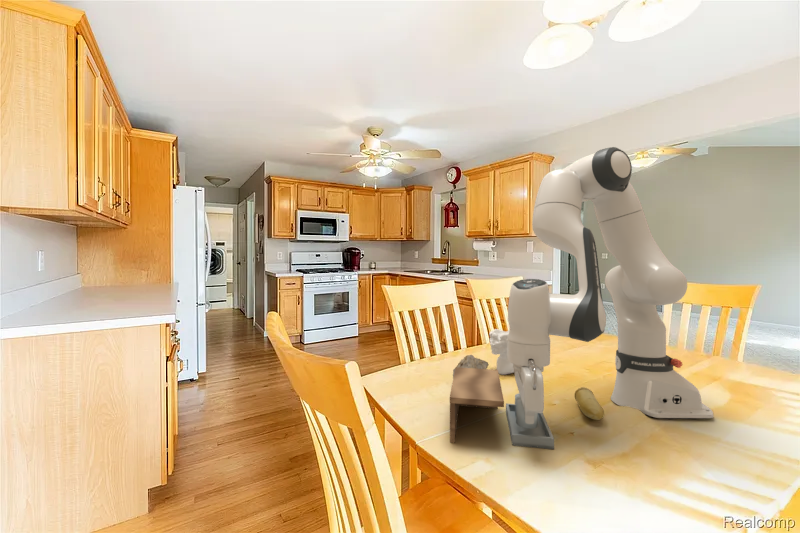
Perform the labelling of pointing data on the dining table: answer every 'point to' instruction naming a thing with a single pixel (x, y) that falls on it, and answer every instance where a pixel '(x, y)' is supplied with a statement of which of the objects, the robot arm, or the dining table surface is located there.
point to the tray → (529, 431)
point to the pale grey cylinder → (516, 401)
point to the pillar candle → (520, 416)
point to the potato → (588, 403)
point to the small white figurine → (501, 351)
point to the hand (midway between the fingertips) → (527, 416)
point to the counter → (473, 392)
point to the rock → (471, 363)
